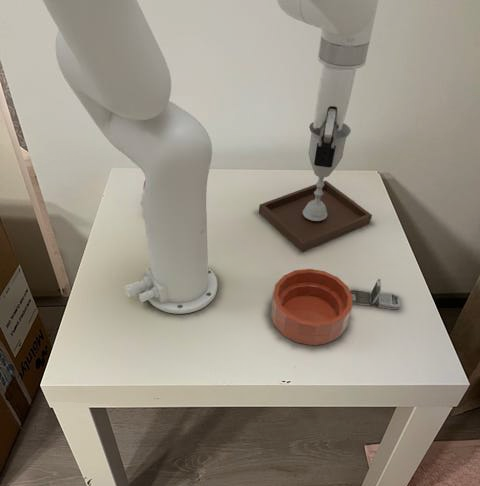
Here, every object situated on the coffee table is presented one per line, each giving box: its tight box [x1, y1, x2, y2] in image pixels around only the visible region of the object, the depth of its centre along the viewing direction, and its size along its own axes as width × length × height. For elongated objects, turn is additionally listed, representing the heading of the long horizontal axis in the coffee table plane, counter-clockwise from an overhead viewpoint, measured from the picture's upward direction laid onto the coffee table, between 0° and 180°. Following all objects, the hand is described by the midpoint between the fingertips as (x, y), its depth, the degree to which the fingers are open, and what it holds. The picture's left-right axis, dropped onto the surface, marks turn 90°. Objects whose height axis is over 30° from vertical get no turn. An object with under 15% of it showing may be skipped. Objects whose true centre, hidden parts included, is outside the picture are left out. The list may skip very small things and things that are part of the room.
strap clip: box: [350, 278, 401, 310], centre depth 83 cm, size 8×3×4 cm, turn 80°
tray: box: [258, 180, 373, 253], centre depth 99 cm, size 18×15×2 cm
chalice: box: [303, 121, 352, 221], centre depth 92 cm, size 7×7×18 cm
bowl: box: [270, 268, 354, 346], centre depth 80 cm, size 13×13×5 cm
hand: (324, 154), depth 89 cm, fingers closed on chalice, 6 cm apart
